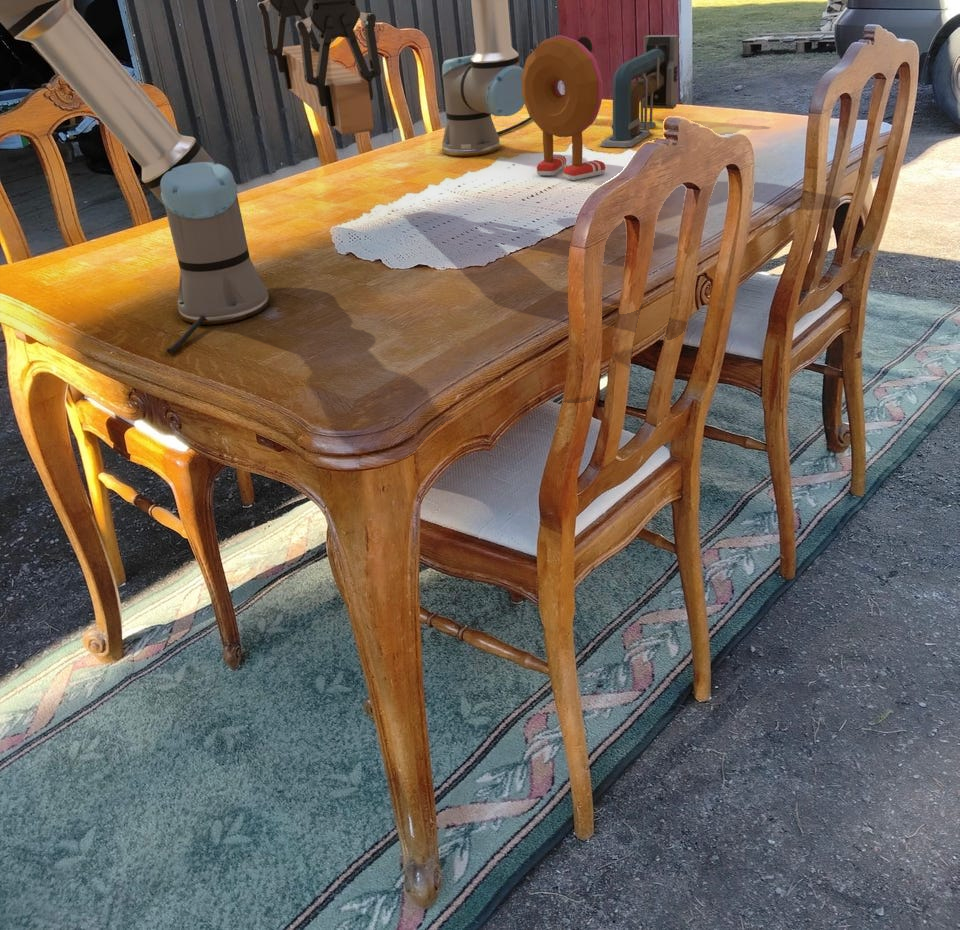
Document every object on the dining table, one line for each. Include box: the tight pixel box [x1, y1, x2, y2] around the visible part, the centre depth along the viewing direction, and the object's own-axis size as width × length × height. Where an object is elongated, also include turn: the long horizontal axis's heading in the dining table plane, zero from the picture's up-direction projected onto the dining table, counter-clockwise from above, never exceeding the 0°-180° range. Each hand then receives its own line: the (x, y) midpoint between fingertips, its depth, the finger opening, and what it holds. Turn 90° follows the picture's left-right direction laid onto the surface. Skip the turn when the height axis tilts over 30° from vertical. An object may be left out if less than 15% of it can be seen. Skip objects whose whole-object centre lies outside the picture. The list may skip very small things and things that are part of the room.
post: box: [282, 44, 375, 136], centre depth 188 cm, size 60×6×8 cm, turn 19°
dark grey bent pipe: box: [599, 34, 679, 148], centre depth 253 cm, size 35×9×21 cm, turn 151°
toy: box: [521, 34, 606, 181], centre depth 218 cm, size 21×10×30 cm, turn 47°
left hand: (349, 122), depth 171 cm, fingers closed on post, 6 cm apart
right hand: (303, 85), depth 209 cm, fingers closed on post, 6 cm apart
